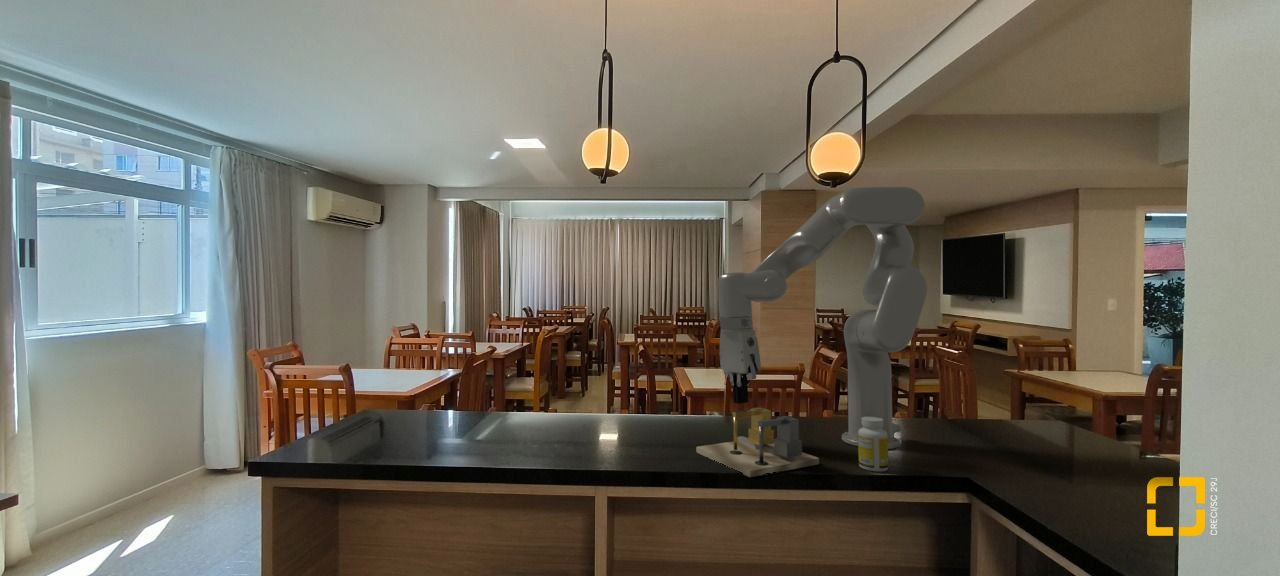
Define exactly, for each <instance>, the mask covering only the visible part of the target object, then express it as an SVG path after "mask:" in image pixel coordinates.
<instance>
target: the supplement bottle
mask: <svg viewBox="0 0 1280 576" xmlns="http://www.w3.org/2000/svg"><path fill="white" fill-rule="evenodd" d="M861 423H862V426H863V428H860V429H859V430H858V446H857V447H858V448H857V451H858V454H857V455H858V465H859V467H860V468H862V469H863V470H866V471H868V472H878V473H879V472H881V473H882V472H886V471H888V470H889V449H888V436H887V432H886V431H884V430H883V429H882V427H883V425H884V424H883V419H881V418H877V417H862V418H861Z"/></svg>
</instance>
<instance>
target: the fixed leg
mask: <svg viewBox="0 0 1280 576" xmlns="http://www.w3.org/2000/svg"><path fill="white" fill-rule="evenodd" d="M799 421H800V419H798V418H795V417H792V416H788V415H782V416H776V418H771V419H770V420H762V421H758V426H759V463H764V453H763V427H769V426H771V427H775V426H776V432H777V433H776V435H777V436H776V438H774V453H776V454H779V455H782V456H784V457H793V456H799V455H802V452H803V442H802V440H800V425H799V424H800V422H799Z"/></svg>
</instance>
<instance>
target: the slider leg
mask: <svg viewBox="0 0 1280 576" xmlns="http://www.w3.org/2000/svg"><path fill="white" fill-rule="evenodd" d="M732 417H733V441H734V450H737V441H738V418H744V417H745V418H746V417H750V419H751V420H750V421H751V422H750V423H751V427H750V428H748V438H749V442H751V443H753V444H756V445H759V426H758V421H762V420H770V419H772V410H771V409H767V408H763V407H751V409H747V410H737V411H732ZM774 439H775V430H774V429H772V426H769V427H763V445H768V444H774Z"/></svg>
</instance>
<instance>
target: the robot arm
mask: <svg viewBox="0 0 1280 576" xmlns="http://www.w3.org/2000/svg"><path fill="white" fill-rule="evenodd" d="M925 207H926V206H925V199H924V197H923V196H922V195H921V193H920V192H919V191H917V190H916V189H914V188H912V187H907V186H880V187H879V186H877V187H876V186H874V187H870V186H867V187H864V186H863V187H853V188H848V189H846V190H844V191H842V192H840V193H838V194H836V195H834V196H832V197H831V198H830V199H828V200H826V202H825V203H823V205H821V206H820V207H819V209H817V211H815V212H814V213H813V215H811V216H810V217H809V218H808V220H806V221H805V222H804V223H803V224H802V225H801V226H800V227H799V228H798V229H797V230H796V231H795V232H794V233H793V234H791V235H790V236H789V237H788V238H787V239H786V240H785V241H784V242H783V243H782V244H781V245H779V246H778V247H777V248H776V249H775V250H774V251H772V253H770V254H769V255H768V256H767V257H766V258H764V259H763V260H762V262H761V263H759V264H758V265H757V266H756V267H755V269H753V270H751V271H752V272H747V273H746V272H727V273H722V274H720V275H719V277H718V279H717V285H718V286H717V287H718V304H719V305H718V307H719V322H720V325H719V326H720V333H719V336H720V337H719V363H720V369H721V370H722V371H723V375H724V376H725V377H727V378H728V379H729V381H730V385H731V386H732V399H733V400H732V401H733V403H734V404H738V405H739V404H740V405H741V404H746V403H749V390H748V386H750V382H751V380H756V379H757V373H760V372H761V368H762V365H761V364H762V363H761V355H760V354H761V353H760V347H759V341H758V337H757V333H756V331H755V329H754V326H753V325H754V321H753V308H752V302H754V303H773V302H775V301H777V300H780V299H781V298H782V297H783V296H784V295H785V294H786V291H787V288H788V284H787V279H788V278H790V277H791V276H792V275H793V274H795V273H797V272H798V271H800V270H802V269H803V268H806V267H808V266H810V265H811V264H814V262H816V261H817V260H819V259H820V258H821V257H823V256H824V255H825V253H827V252H828V251H829V249H831V247H833V245H835V243H836V242H838V241H839V240H840V239H841V238H842V237H843V236H844V235H845V234H846V233H847V232H848V231H849V230H850V229H851V228H853V227H856V226H859V225H862V224H865V226H866V227H867V229H868V230H869V231H870V233H871V234H872V236H873V239H874V243H875V247H874V252H873V256H872V259H871V262H870V266H869V268H868V270H867V273H866V276H865V279H864V282H863V286H862V296H863V299H864V300H865V301H866V303H868V304H870V305H871V306H874V307H877V308H876V309H863V310H858V311H855V312H854V313H852V314H850V315H849V316H848V318H847V319H846V320H845V323H844V325H843V326H844V327H843V339H844V344H845V345H844V346H845V350H846V357H847V403H848V404H847V408H848V409H847V410H848V411H847V414H848V415H847V416H848V425H847V426H848V431H845V432H843V433H841V440H842V441H843V442H845V443H846V444H849V445H851V446H855V447H858V430H859V429H860V428H863V426H862V423H861V418H862V417H877V418H881V419H883V424H884V425H883V427H882V429H883V430H884V431H886V432H887V436H888V450H891V449H897V448H899V447H900V446H901V440H900V439H899V438H898V437H896V436H895V433H898V432H899V433H901V432H903V431H904V426H903V424H902V423H893V397H892V396H893V395H892V394H893V391H892V390H893V388H892V383H893V382H892V378H893V377H892V375H893V373H892V363H891V359H890V356H889V353H897V352H900V351H902V350H904V349H905V348H906V347H907V346H908V345H909V344H910V342H911V341H912V338H913V336H914V334H915V331H916V329H917V325H918V323H919V319H920V317H921V313H922V310H923V308H924V304H925V302H926V301H925V300H926V298H927V294H928V293H927V292H928V285H927V281H926V278H925V275H923V273H922V272H921V271H920V270H919V269H917V267H914V266H912V265H911V264H912V261H913V258H914V253H915V245H914V240H913V238H912V236H911V234H910V232H909V230H908V228H907V226H906V225H910V224H912V223H914V222H916V221H917V220H919V219H920V217H921V216H922V215H923V213H924V211H925Z"/></svg>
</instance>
